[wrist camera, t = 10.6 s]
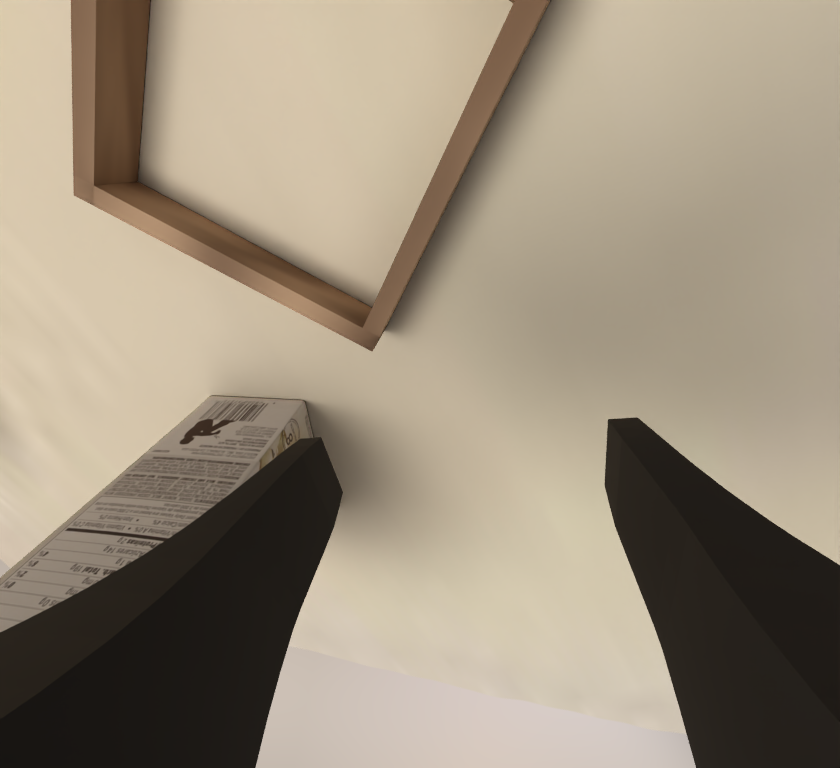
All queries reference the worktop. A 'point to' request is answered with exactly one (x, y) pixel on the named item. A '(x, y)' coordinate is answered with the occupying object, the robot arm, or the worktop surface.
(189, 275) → the worktop surface
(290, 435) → the coffee box
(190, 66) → the worktop surface
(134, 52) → the jug holder
